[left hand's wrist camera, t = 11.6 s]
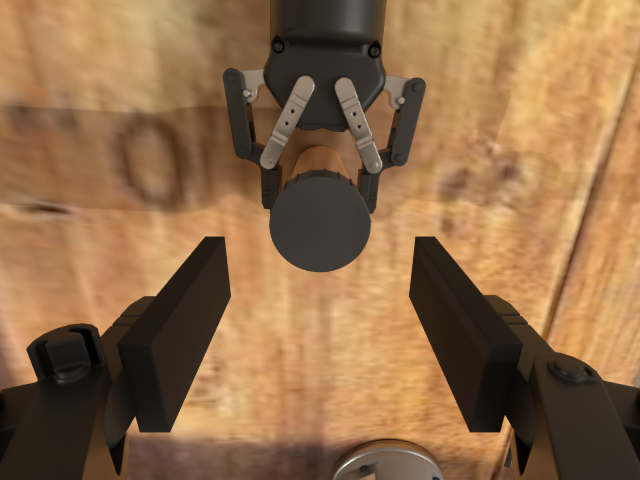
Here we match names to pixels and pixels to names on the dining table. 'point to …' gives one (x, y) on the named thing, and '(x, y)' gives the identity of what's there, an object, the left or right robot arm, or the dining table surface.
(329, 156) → the wooden cylinder
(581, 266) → the dining table surface
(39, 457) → the left robot arm
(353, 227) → the lid
